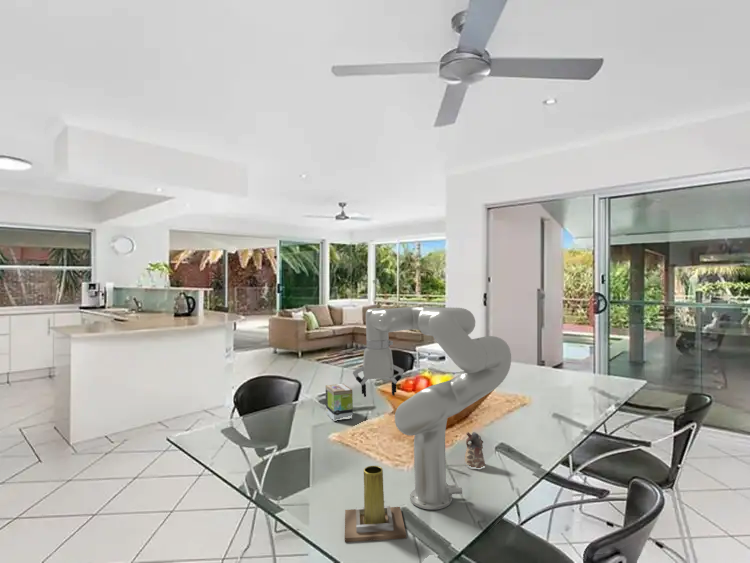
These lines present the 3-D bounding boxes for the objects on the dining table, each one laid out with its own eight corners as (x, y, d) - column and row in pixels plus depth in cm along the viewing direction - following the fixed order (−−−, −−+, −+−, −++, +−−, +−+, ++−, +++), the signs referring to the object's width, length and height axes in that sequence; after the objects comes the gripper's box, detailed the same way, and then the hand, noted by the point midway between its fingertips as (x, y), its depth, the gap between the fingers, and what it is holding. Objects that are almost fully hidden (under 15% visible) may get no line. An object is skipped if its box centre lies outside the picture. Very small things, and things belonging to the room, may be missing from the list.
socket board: (400, 510, 129) (399, 501, 129) (406, 538, 115) (405, 528, 115) (345, 513, 128) (345, 504, 128) (344, 542, 114) (344, 532, 114)
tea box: (353, 419, 213) (352, 389, 213) (333, 422, 209) (332, 391, 209) (344, 411, 227) (343, 382, 227) (325, 413, 223) (324, 384, 223)
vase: (373, 512, 125) (371, 463, 125) (390, 519, 122) (388, 468, 122) (359, 522, 121) (357, 470, 121) (376, 530, 117) (374, 476, 117)
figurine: (485, 470, 153) (484, 436, 153) (464, 469, 154) (464, 435, 154) (484, 462, 160) (483, 429, 160) (464, 461, 161) (464, 428, 161)
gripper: (401, 342, 153) (403, 391, 153) (352, 344, 152) (353, 393, 152) (404, 345, 146) (405, 397, 146) (352, 347, 145) (353, 399, 145)
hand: (379, 395), depth 149 cm, fingers open, 9 cm apart
